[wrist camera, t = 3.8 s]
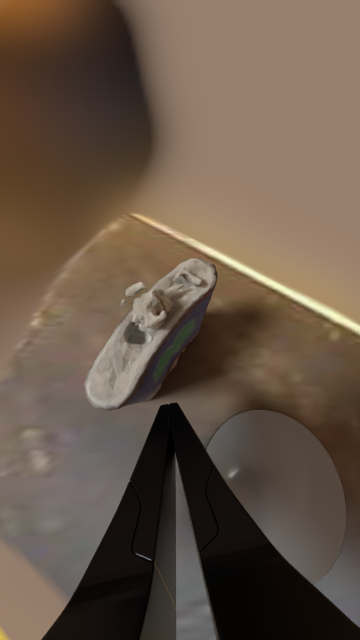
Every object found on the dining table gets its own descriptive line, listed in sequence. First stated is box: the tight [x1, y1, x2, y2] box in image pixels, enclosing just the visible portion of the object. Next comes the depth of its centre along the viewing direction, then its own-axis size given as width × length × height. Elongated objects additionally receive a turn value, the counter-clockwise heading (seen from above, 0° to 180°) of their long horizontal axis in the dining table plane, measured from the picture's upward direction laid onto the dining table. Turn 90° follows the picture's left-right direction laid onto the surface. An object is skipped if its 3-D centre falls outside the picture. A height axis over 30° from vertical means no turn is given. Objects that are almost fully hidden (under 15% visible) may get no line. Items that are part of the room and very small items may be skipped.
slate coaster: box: [206, 409, 346, 584], centre depth 13 cm, size 10×10×1 cm
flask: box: [84, 258, 217, 411], centre depth 12 cm, size 9×3×11 cm, turn 145°
